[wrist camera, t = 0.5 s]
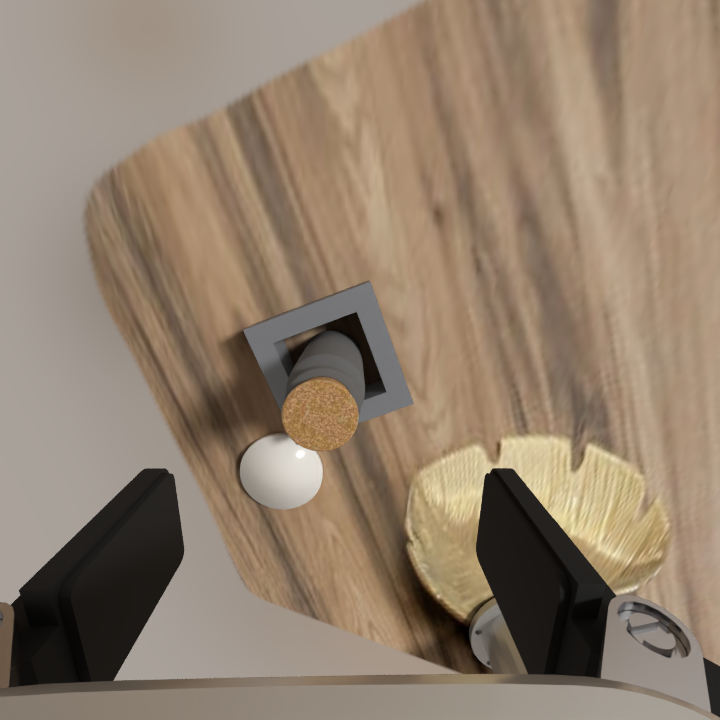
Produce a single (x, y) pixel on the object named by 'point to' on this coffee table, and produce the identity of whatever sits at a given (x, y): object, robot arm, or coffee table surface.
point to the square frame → (358, 298)
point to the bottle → (325, 392)
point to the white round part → (280, 472)
